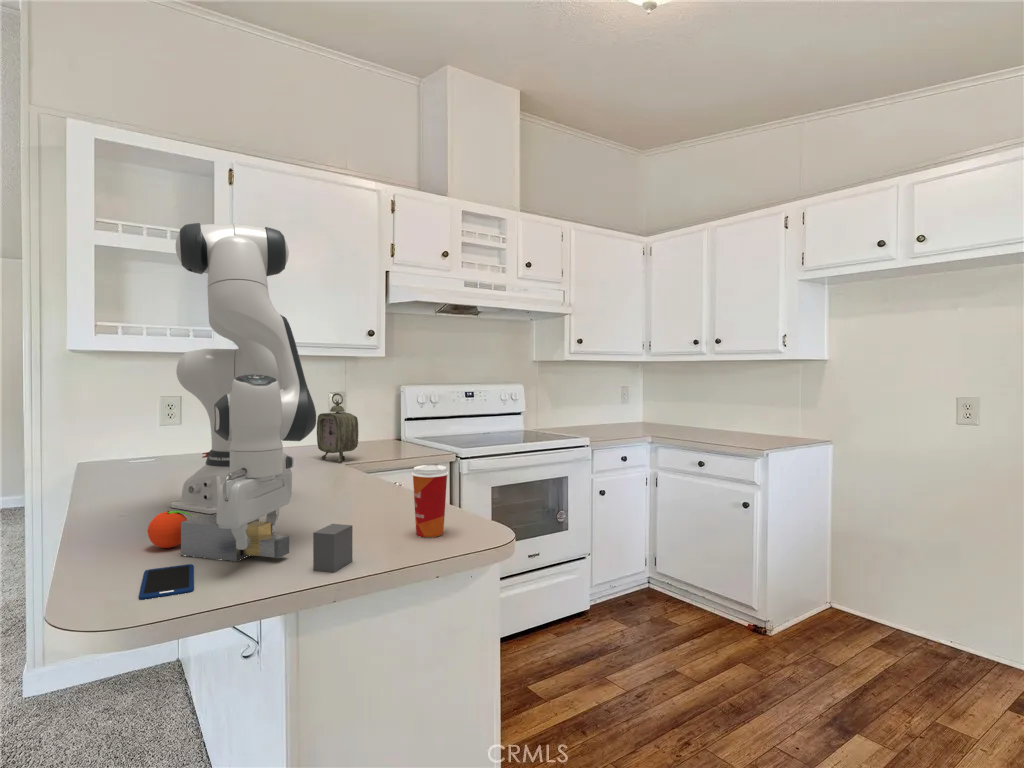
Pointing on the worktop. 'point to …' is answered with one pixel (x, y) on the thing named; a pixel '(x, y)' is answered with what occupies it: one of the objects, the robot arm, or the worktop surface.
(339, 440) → the tabletop clock
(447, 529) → the worktop surface
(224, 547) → the sleeve
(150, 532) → the clementine
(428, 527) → the paper cup
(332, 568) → the socket
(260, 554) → the gold-banded square post
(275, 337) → the robot arm
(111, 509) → the worktop surface
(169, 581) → the cell phone
